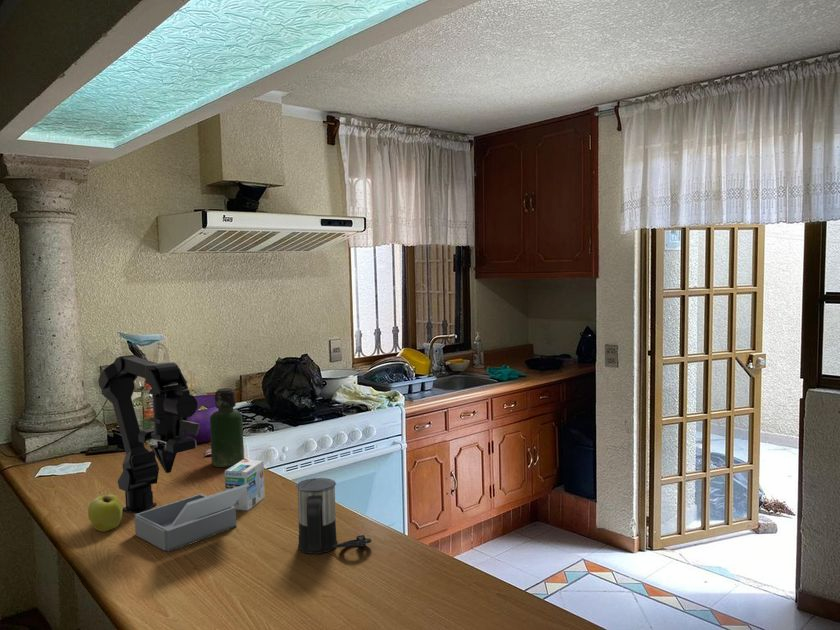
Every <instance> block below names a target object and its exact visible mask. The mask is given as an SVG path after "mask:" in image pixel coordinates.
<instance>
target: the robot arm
mask: <svg viewBox="0 0 840 630" xmlns="http://www.w3.org/2000/svg"><path fill="white" fill-rule="evenodd" d="M98 377H99V378H98V381H97V382H98V387H99V388H100V389H101V392H102V394H103V396H104V398H105V399H107V400H108V401H109V403H111V404H112V406H113V410H114V414H115V418H116V421H117V424H118V425H117V426H118V429H119V432H120V437H121V439H122V443H123V448H124V451H125V456H124V459H123V462H122V473H121V474H120V475H119V478H118V479H117V485H118V489H119V490H122V491H124V494H125V495H124V496H125V506H124V507H122V508H123V512H127V513H128V512H130V513H134V514H138V513H141V512H144V511H148V510H150V509H152V508H154V507H156V506H157V503H156V502H154V493H153V491H152V490H153V489H152V485H154V484H157V483H158V480H159V479H158V478H159V473H160V467H159V464H158V462H159V463H160V466H161V467H162V468H163V471H164V472H165V473H166V474H169V473H171V472H172V470H173V466H174V464H175V459H176V456H177V453H182V452H185V451H186V452H187V451H189V450H194V449H196V448H197V440H196V439H195V438H194V437H193V436H196V437H197V436H198V433H199V429H200V427H201V426H200V425H201V424H200V423H197V422H195V421H190V420H189V419H188V418H191V417H192V416H194V414H195V413H196V412H197V410H198V401H197V399H196V397H195V396H194V395H192V394H190V389H189V387H188V384H187V383H188V381H187V379H186V378H185V376H184V375H183V373H182V371H181V368H180V367H179V365H178V364H177V363H176V362H154V361H153V360H152V361H151V360H148V359H145V358H141V357H138V355H134V354H130V355H129V354H128V355H121V356H118V357H116V358H115V359H114V361H113V363H110V364H109V365H108V366H107V367H105V368H104V369H103V370H102V372H101V374H100V375H99V376H98ZM138 377H140V378H143V379H145V381H144V383H145V384H147V385H148V386H149V387H150V390H149V391H148V394H149V395H152V409H153V414H152V415H153V416H151V417H149V419H150V422H153V427H151V428H148V429H142V430H141V429H140V426H139V425H140V424H139V421H138V417H137V415H136V411H135V406H134V403H133V399H132V397H133V394H134V391H135V388H136V386H135V381H136V380H137V378H138ZM185 434H188V435H185ZM189 435H192V436H189ZM149 440H151V442H152V445H150V446H149V449H151V450H148V448H146V447H145V444H146V442H147V441H149ZM157 460H158V462H157Z"/></svg>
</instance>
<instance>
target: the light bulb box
mask: <svg viewBox="0 0 840 630" xmlns="http://www.w3.org/2000/svg"><path fill="white" fill-rule="evenodd" d="M264 465H265V464H264V460H251V459H244V460H242V461H240V462H238V463H237V464H235V465H234V466H231V467H228V468H227V469H225V470H224V484H225V485H224V487H225V491H226V490H229V489H232V488H235V487H238V486H241V485H244V484H249V486H248V487H247V489H246V490H245V491H244V493H243V494H242V495H241V496H240V498H239V499H238V500H237V501H236V503H235V504H234V505H233V506H234V507H236V511H249V510H251V509H252V508H253V507H255V506H256V505H257V504H258V503H260V502H261V501H262V500H263V499H265V497H266V496H265V470H264V469H265V468H264V467H265V466H264Z"/></svg>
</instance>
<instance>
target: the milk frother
mask: <svg viewBox="0 0 840 630" xmlns="http://www.w3.org/2000/svg"><path fill="white" fill-rule="evenodd" d="M336 485H337V482H336V480H334V479H331V478H327V477H325V478H324V477H314V478H312V477H311V478H307V479H304V480H301V481H299V482H298V483H297V484H296V488H297V512H298V513H297V515H298V544H297V549H298V550H299V551H300V552H302V553H306V554H324V553H326V552H330V551H333V550H334V549H335V548H336V549H337V548H348V547H356V546H357V547H358V548H364V547H366V545H367V544H370V543H372V539H371V538H368V537H367V538H366V537H365V534H361V535H357V536H356V539H350V540H347V541H343V542H341V543H338V542H339V541H338V539H337V537H338V536H337V525H336V524H337V523H336V521H337V520H336V519H337V518H336V489H335V488H336Z"/></svg>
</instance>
